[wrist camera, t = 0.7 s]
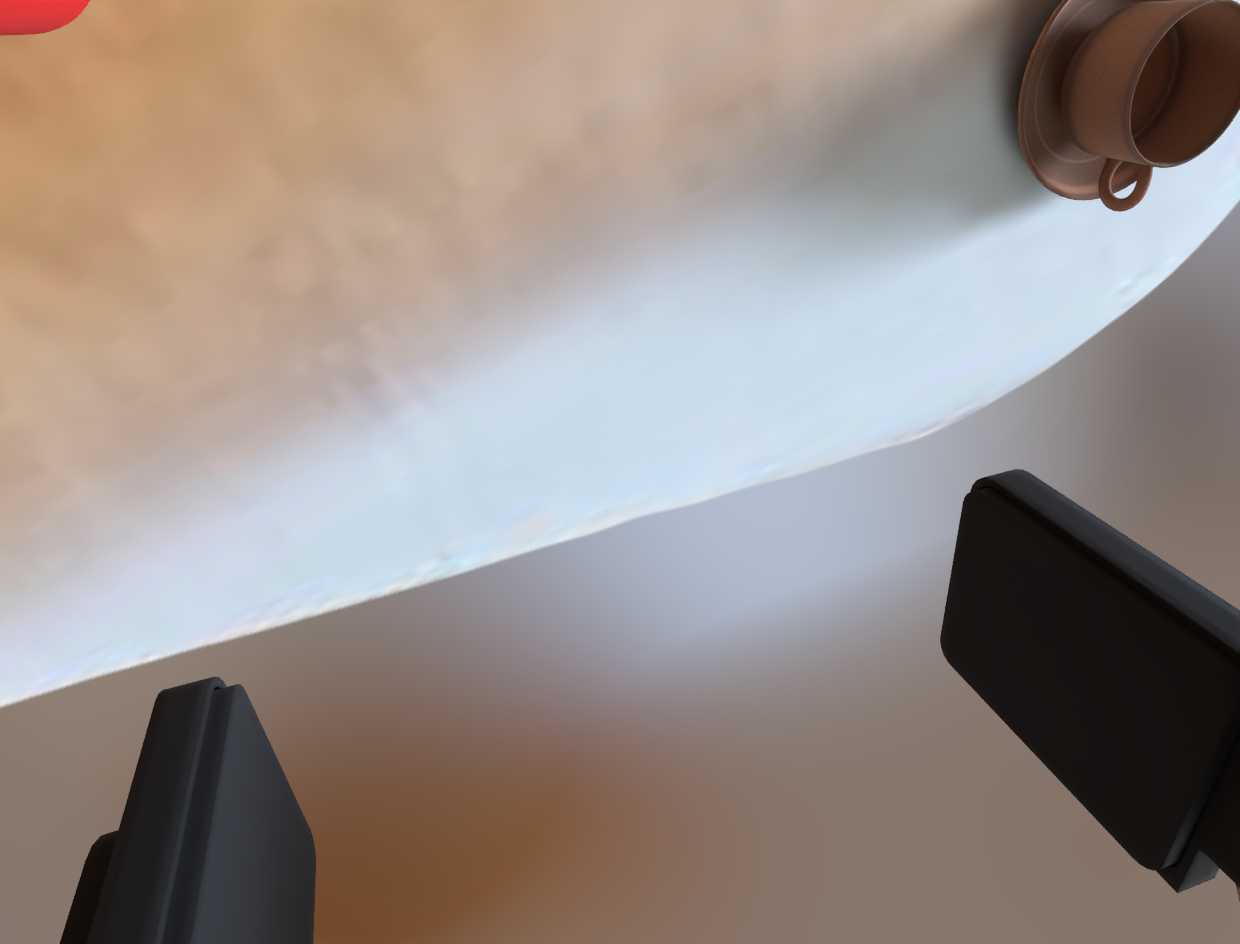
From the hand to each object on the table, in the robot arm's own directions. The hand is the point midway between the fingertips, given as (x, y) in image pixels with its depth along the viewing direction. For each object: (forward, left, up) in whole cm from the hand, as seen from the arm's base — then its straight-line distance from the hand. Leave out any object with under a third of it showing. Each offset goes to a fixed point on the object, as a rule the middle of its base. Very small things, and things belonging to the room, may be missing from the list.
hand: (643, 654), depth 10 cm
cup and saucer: (-10, +35, -32) cm, 48 cm away
